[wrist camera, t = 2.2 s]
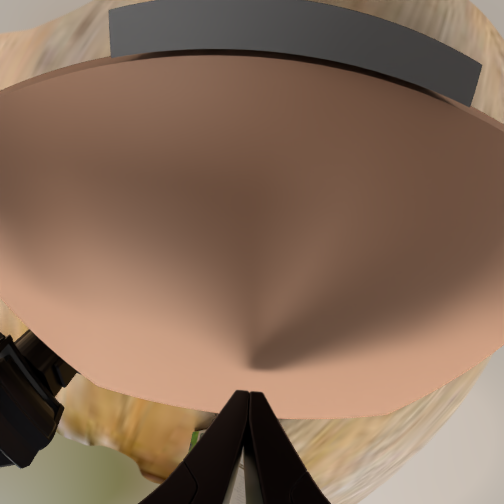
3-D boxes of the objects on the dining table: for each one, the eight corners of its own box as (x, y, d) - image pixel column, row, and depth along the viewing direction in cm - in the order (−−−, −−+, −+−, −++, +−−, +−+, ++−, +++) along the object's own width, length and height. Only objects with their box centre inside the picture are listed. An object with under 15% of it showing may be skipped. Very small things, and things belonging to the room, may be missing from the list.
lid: (103, 363, 17) (96, 388, 16) (-55, 97, 3) (-97, 132, 2) (384, 392, 17) (386, 417, 16) (590, 168, 3) (623, 209, 2)
